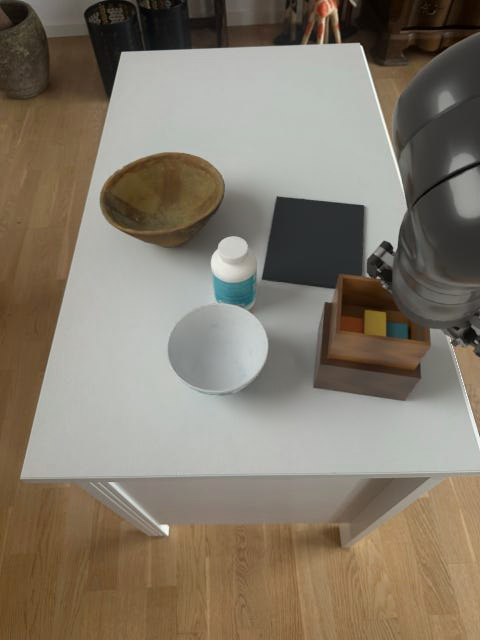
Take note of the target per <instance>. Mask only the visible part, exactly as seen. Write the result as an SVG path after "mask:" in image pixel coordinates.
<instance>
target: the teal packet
mask: <svg viewBox="0 0 480 640" xmlns="http://www.w3.org/2000/svg"><path fill="white" fill-rule="evenodd" d="M386 337H393V338H401V339H408V325H407V324H401V323H393V322H386Z"/></svg>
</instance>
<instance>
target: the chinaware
mask: <svg viewBox="0 0 480 640" xmlns="http://www.w3.org/2000/svg"><path fill="white" fill-rule="evenodd" d="M166 342H167V343H166V357H167V361H168V364H169V366H170V368H171V370H172V372H173V373H174V375H175V376H176V377H177V378H178V379H179V380H180V381H181V383H183V384H185V386H186V387H188V388H189V389H191V390H193V391H195V392H197V393H199V394H203V395H206V396H216V397H217V396H220V397H221V396H228V395H233V394H234V393H237V392H239V391H241V390H243V389H244V388H247V387H248V386H249V385H250V384H251V383H252V382H254V380H255V379H256V378H258V376H259V375H260V373H261V372H262V371H263V368H264V367H265V364H266V362H267V359H268V355H269V349H270V348H269V345H270V344H269V338H268V333H267V331H266V328H265V327H264V325H263V323H262V322H261V321H260V320H259V319H258V318H257V317H256V316H255V315H254V314H253V313H252V312H250V310H248V311H247V310H245V309H243V308H241V307H239V306H236V305H232V304H225V303H216V302H214V303H207V304H204V305H200V306H198V307H195V308H193V309H191V310H190V311H188V312H187V313H185V314H183V316H181V317H180V318H179V319H178V320H177V322H176V323H175V324H174V325H173V326H172V328H171V330H170V333H169V335H168V338H167V341H166Z"/></svg>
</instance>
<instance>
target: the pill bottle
mask: <svg viewBox="0 0 480 640" xmlns="http://www.w3.org/2000/svg"><path fill="white" fill-rule="evenodd" d="M210 270H211V276H212V279H211V280H212V286H213V294H214V295H213V296H214V301H215V303H225V304H232V305H236V306H239V307H241V308H243V309H245V310H247V311H250V310H251V309H252V308H253V307H254V305H255V304H256V302H257V285H258V283H257V282H258V281H257V279H258V272H257V271H258V259H257V256H256V254H255V252H254V251H253V250H252V249H251V248H250V247H249V244H248V242H247V241H246V240H245V238H244V239H243V238H242V237H240V236H235V235H234V236H233V235H231V236H228V237H225V238H223V239H222V240H221V241H219V243H218V246H217V249H216V250H215V251H214V252H213V254H212V256H211V258H210Z"/></svg>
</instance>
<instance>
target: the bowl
mask: <svg viewBox="0 0 480 640" xmlns="http://www.w3.org/2000/svg"><path fill="white" fill-rule="evenodd" d="M225 192H226V184H225V180H224V178H223V174H221V172H220V171H219V170H218V169H217V168H216V167H215V165H213V164H211V163H210V162H209V161H208V160H206V159H204V158H202V157H200V156H198V155H194V154H190V153H186V152H178V151H175V152H174V151H172V152H171V151H165V152H163V151H162V152H159V153H154V154H151V155H147V156H145V157H140V158H137V159H136V160H134V161H132V162H130V163H128V164H125V165H123V166H122V168H119V169H117V170H115V172H113V173H112V175H110V176H109V177H108V178H107V179H106V180H105V181H104V183H103V185H102V187H101V190H100V194H99V209H100V211H101V214H102V216H103V217H104V219H105V220H106V221H107V223H108V224H110V225H111V226H112V227H113V228H115V229H117V230H118V231H120V232H122V233H124V234H126V235H127V236H130V237H132V238H135V239H137V240H139V241H141V242H143V243H148V244H151V245H154V246H158V247H162V248H174V247H178V246H179V247H180V246H181V245H183V244H184V243H186V242H187V241H188V240H189V239H190V238H191V239H192V238H193V236H195V235H196V234H197V233H199V232H200V231H201V230H202V229H203V228H204V227H205V226H206V225H207V223H208V222H209V221H211V219H212V218H213V217H214V216H215V215H216V213H217V212H218V211H219V208H220V206H221V204H222V202H223V200H224V197H225Z"/></svg>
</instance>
